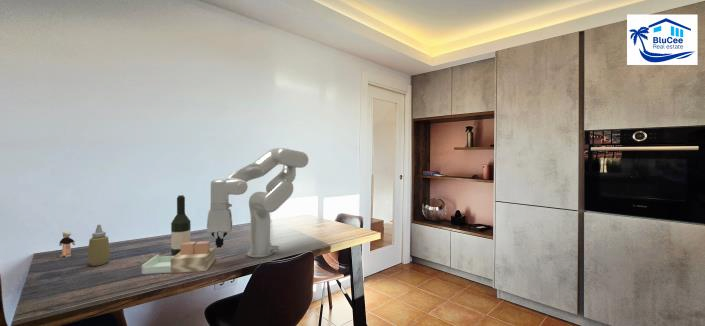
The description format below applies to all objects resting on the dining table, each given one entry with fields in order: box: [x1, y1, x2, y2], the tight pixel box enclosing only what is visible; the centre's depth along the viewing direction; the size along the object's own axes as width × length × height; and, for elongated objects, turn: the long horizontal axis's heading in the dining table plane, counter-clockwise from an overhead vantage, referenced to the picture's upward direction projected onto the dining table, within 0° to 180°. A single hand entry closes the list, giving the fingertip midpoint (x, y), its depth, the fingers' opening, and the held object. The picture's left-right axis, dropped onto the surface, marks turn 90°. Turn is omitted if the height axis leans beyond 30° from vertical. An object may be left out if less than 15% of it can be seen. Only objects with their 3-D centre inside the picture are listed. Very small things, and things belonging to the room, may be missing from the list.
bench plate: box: [170, 246, 217, 274], centre depth 131 cm, size 14×14×6 cm
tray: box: [141, 254, 174, 276], centre depth 128 cm, size 11×14×4 cm
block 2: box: [195, 240, 211, 254], centre depth 131 cm, size 5×4×4 cm
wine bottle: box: [170, 194, 192, 256], centre depth 146 cm, size 8×8×30 cm
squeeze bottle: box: [86, 224, 111, 267], centre depth 133 cm, size 8×8×18 cm
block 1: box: [181, 241, 197, 255], centre depth 130 cm, size 5×4×4 cm
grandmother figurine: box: [58, 230, 76, 258], centre depth 144 cm, size 8×4×13 cm, turn 102°
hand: (219, 246), depth 132 cm, fingers closed
